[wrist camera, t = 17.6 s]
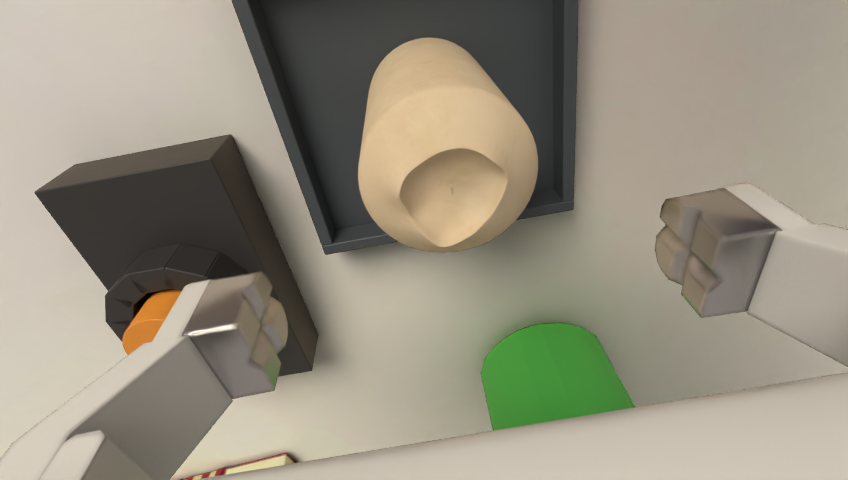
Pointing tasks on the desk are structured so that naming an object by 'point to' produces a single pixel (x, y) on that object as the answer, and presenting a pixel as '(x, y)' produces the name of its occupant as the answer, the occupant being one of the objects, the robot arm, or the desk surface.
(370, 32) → the soap tray
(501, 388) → the bottle
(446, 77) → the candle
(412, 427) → the desk surface
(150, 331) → the orange button cap
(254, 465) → the gift box
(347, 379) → the desk surface
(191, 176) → the button base
